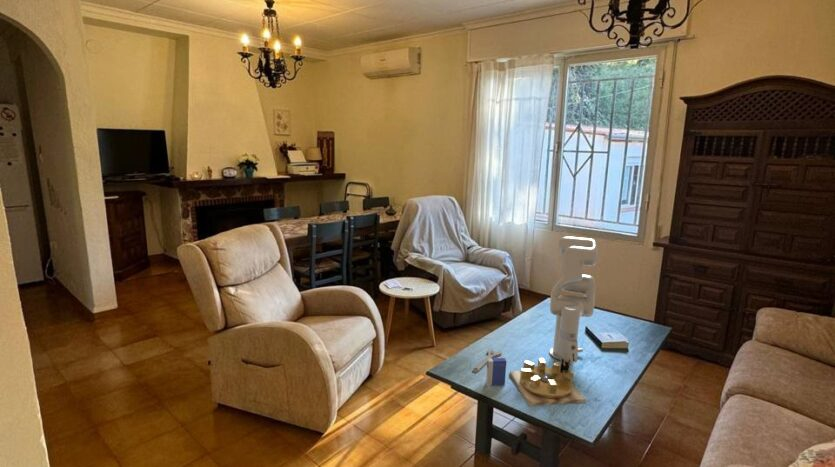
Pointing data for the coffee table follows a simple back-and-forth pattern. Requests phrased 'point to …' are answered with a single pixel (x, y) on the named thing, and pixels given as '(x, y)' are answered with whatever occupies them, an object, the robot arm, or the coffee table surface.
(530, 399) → the base plate
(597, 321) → the coffee table surface
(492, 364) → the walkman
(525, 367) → the bevel gear
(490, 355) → the adjustable wrench
